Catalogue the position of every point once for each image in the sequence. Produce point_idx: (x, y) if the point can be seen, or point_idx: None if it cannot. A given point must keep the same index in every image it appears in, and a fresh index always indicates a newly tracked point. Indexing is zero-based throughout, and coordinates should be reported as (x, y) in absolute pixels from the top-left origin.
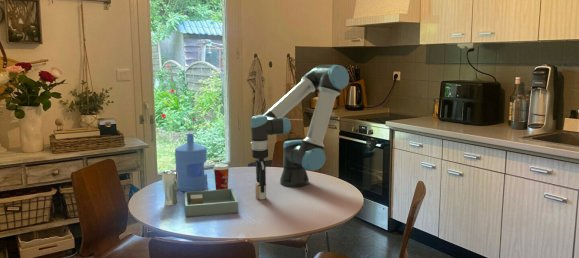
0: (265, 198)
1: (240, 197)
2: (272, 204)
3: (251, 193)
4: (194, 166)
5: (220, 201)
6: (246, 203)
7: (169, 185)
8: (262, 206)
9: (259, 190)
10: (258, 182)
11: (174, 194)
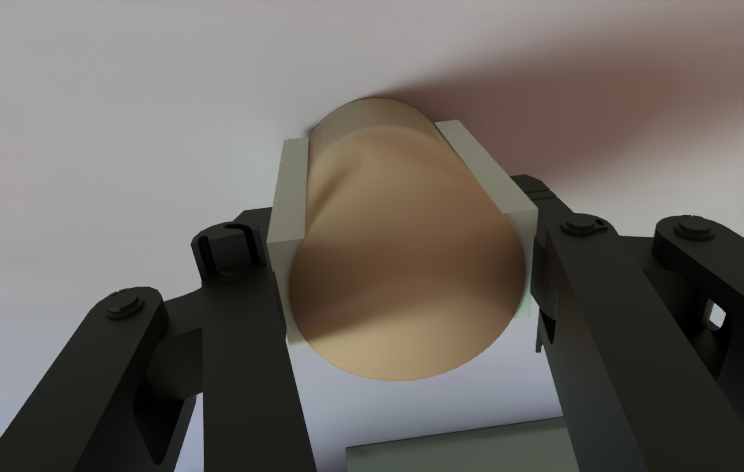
0: (422, 113)
1: (306, 388)
2: (686, 28)
3: (143, 282)
4: None
5: None
6: (530, 331)
7: None
8: (701, 170)
9: None
10: (304, 331)
11: None
